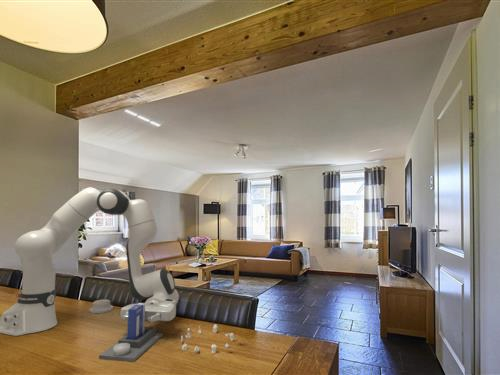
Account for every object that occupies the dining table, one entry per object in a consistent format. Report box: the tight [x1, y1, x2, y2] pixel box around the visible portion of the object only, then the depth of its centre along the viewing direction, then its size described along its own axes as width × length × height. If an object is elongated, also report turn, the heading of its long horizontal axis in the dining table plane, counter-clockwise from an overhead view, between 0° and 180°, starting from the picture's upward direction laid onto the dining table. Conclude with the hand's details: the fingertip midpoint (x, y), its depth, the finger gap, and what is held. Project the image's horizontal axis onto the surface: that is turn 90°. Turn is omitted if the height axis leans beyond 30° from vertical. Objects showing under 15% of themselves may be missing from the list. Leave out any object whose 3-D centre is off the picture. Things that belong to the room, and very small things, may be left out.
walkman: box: [126, 302, 146, 340], centre depth 109 cm, size 8×3×12 cm, turn 174°
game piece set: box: [180, 324, 235, 354], centre depth 110 cm, size 19×20×4 cm
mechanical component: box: [89, 299, 114, 314], centre depth 145 cm, size 10×4×10 cm
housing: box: [98, 327, 163, 362], centre depth 105 cm, size 12×20×3 cm, turn 171°
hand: (137, 319), depth 108 cm, fingers open, 8 cm apart
